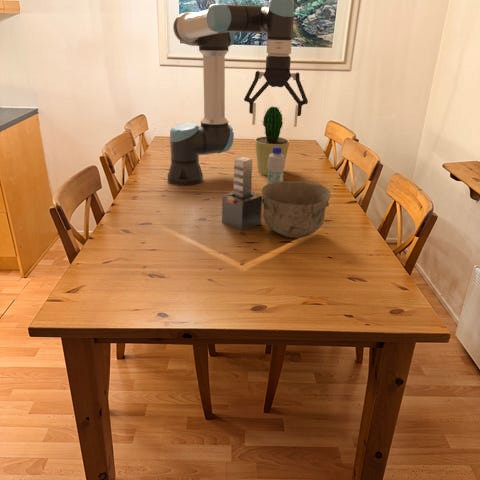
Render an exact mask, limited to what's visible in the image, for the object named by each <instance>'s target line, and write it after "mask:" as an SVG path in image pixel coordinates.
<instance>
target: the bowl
mask: <svg viewBox="0 0 480 480" xmlns="http://www.w3.org/2000/svg"><path fill="white" fill-rule="evenodd" d="M261 196H262V199H261V201H262V206H263V218H264V222H265V223H266V225H267V226H268V228H270V229H271V230H272V231H273V232H275V233H277V234H279V235H281V236H284V237H287V238H292V239H300V238H306V237H308V236H310V235H312V234H313V233H316V231H318V230H319V229H320V228H321V226H322V225H323V223H324V220H325V213H326V208H327V207H329V206H330V203H329V200H330V198H331V196H332V195H331V191H330V189H328V188H327V187H326V186H324V185H323V184H320V183H315V182H310V181H306V180H305V181H302V180H293V181H292V180H291V181H290V180H289V181H288V180H287V181H283V182H277V183H276V182H275V183H270V184H267V183H266V185H264V186H262V189H261Z"/></svg>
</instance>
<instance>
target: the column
mask: <svg viewBox="0 0 480 480" xmlns="http://www.w3.org/2000/svg"><path fill="white" fill-rule="evenodd" d="M233 165H234V166H233V190H232V192H234V197H235V198H238V199H241V200H244V199H247V198H250V197H251V192H252V182H253V180H252V179H253V177H252V175H253V158H250V157H246V156H240V157H237V158H234V161H233Z"/></svg>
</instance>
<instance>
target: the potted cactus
mask: <svg viewBox="0 0 480 480" xmlns="http://www.w3.org/2000/svg"><path fill="white" fill-rule="evenodd" d="M263 113H264V115H263V117H262V119H263V120H260V121H261V125H263V126H262V127H264V132H263V134H264V135H265V136H259V137H257V138H255V139H254V141H255V142H254V143H255V154H256V164H257V171H258V172H257V173H258V174H260V175H262V176H266V177H268V158H269V155H270V154H272V153H273V148H274V147H280V148H281V149H282V152H281V154H283V155H284V156H285V161H286V159H287V154H288V150H289V145H290V142H291V141H290V140H289V139H288V138H286V137H282V136H280V135H281V134H282V132H281V131H283V130H282V129H283V124H284V121H283V120H284V118H283V114H282V110H280V108H279V107H277V106H273V105H272V106H270V107H269V106H268V108H267V110H266V109H265V110H264V112H263Z"/></svg>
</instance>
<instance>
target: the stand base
mask: <svg viewBox="0 0 480 480" xmlns="http://www.w3.org/2000/svg"><path fill="white" fill-rule="evenodd" d="M221 197H222V198H221V199H222V200H221V206H222V207H221V210H222V211H221V221H222V222H221V223H222V224H224V225H226V226H229V227H231V228H233V229H235V230H238V231H240V232H243V231H247V230H249V229H251V228H254V227H255V226H259V225H261V224H262V211H263V210H262V207H263V202H262V201H261V199H263V195H262V194H261V195H260V194H258V193H255V192H252V191H251V197H250V198H247V199H244V200H241V199H238V198H235V197H234V191H230V192H228V193H225V194H222V196H221Z"/></svg>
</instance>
